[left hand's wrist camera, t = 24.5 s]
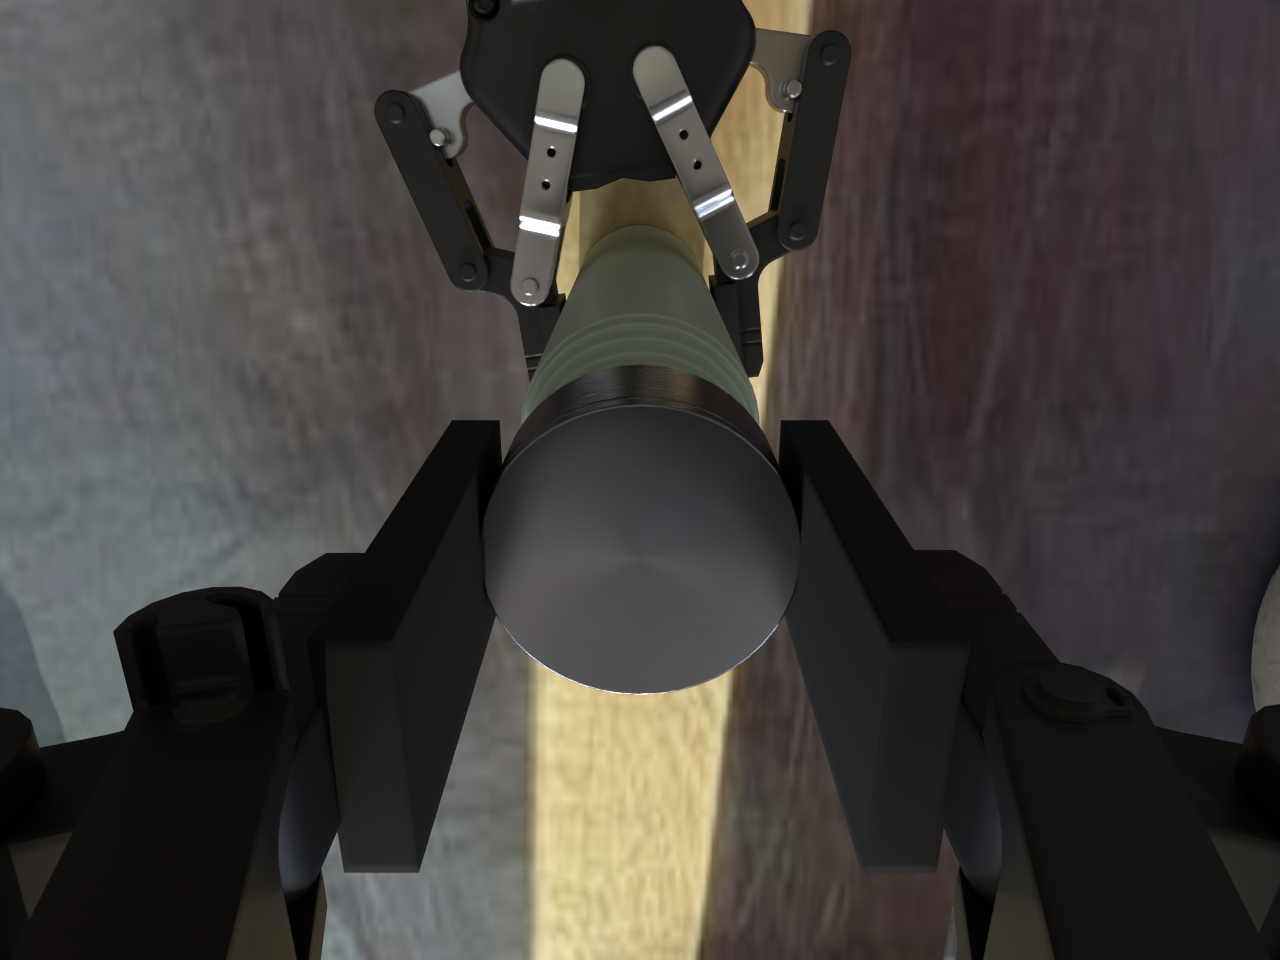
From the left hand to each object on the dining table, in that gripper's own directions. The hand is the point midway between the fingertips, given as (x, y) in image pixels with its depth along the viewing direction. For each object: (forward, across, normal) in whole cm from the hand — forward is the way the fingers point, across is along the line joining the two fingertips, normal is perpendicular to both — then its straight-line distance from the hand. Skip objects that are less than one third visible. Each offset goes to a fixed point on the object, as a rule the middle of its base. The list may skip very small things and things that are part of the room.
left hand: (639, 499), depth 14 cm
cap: (-2, 0, 0) cm, 2 cm away
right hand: (+15, 0, -3) cm, 15 cm away
